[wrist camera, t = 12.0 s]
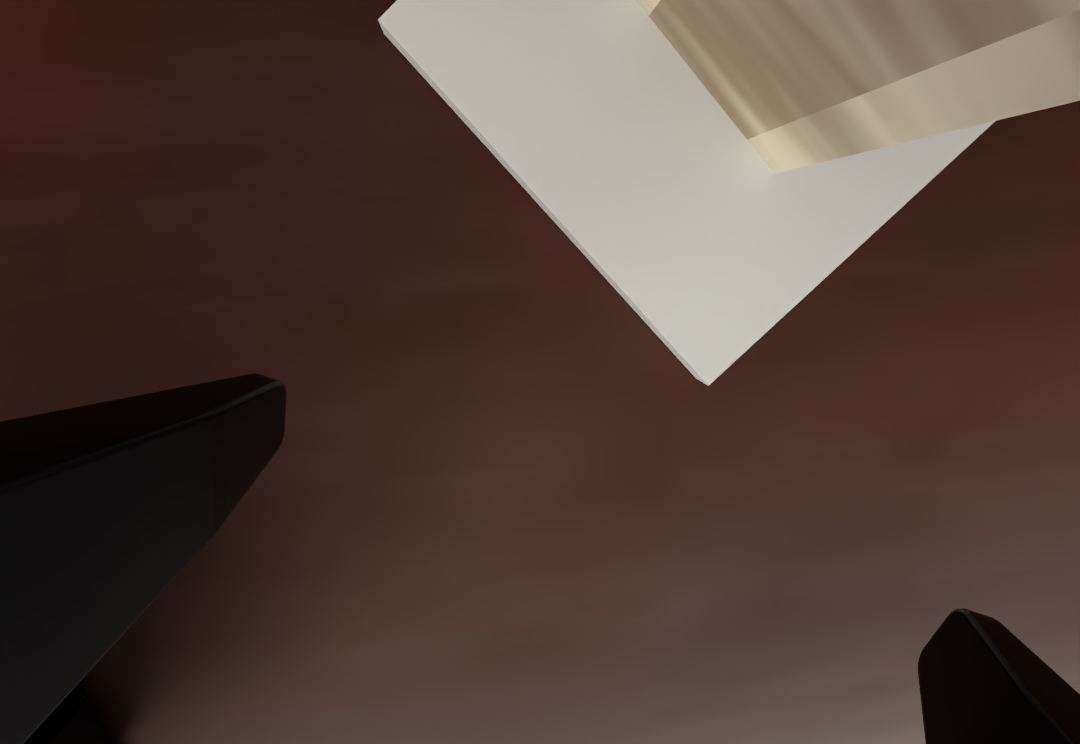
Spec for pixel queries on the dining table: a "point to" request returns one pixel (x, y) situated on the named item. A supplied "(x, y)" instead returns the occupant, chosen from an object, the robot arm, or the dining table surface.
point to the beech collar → (872, 67)
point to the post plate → (654, 164)
